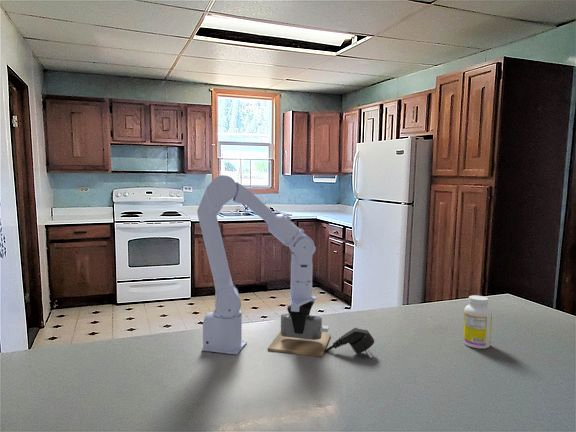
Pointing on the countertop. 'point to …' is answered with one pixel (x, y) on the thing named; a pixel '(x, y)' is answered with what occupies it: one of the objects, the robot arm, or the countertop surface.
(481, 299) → the supplement bottle
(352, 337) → the power plug
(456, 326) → the countertop surface
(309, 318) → the grey capsule with tab
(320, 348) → the oak board
